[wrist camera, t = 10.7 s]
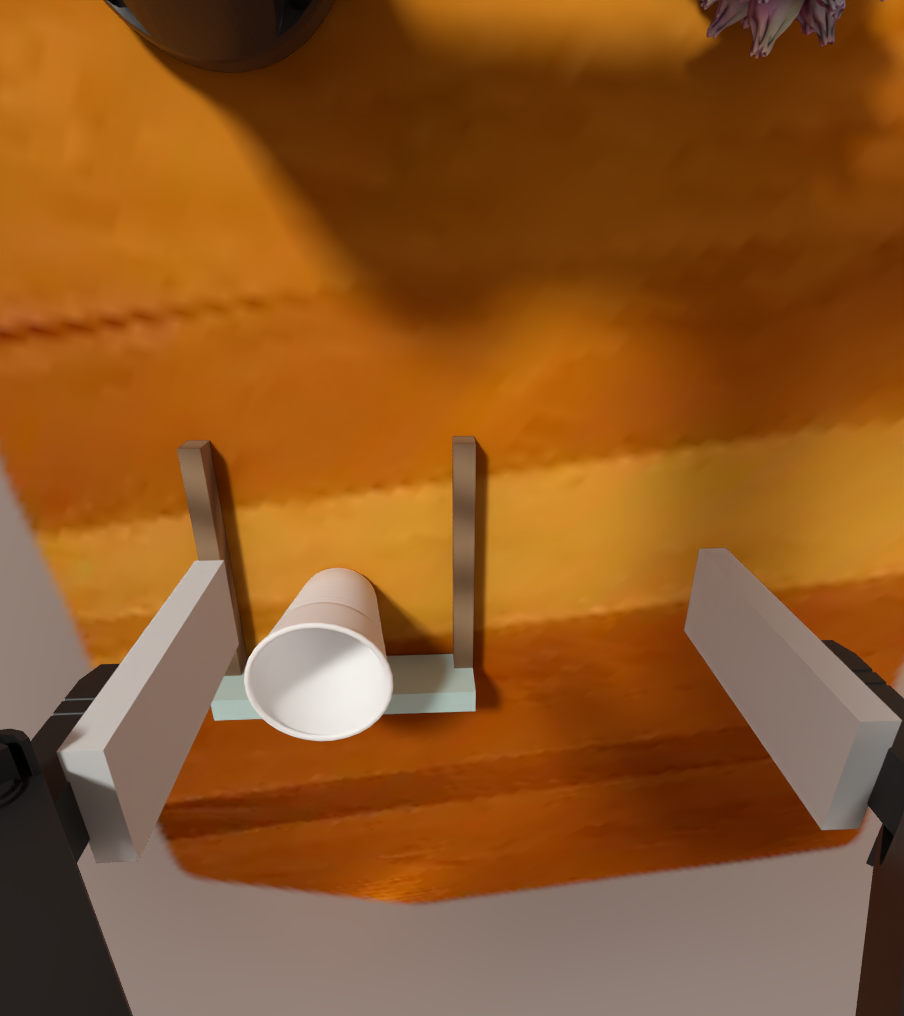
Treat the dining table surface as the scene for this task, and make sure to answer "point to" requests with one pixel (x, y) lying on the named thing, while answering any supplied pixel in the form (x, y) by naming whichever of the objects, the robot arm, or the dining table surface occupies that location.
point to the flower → (776, 19)
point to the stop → (415, 691)
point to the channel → (214, 547)
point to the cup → (323, 661)
